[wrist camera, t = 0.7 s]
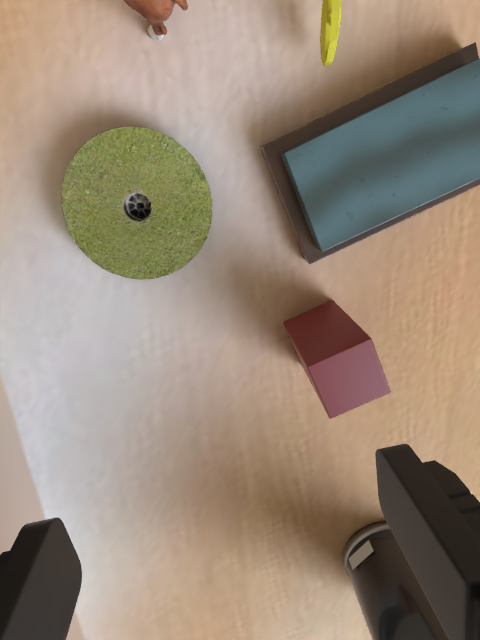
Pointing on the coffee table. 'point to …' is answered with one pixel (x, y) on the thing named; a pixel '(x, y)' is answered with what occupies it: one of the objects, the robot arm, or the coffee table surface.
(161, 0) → the bull figurine
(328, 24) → the decorative insect
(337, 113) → the blue-grey flat block
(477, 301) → the coffee table surface
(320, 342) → the pillar block
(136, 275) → the mat
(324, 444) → the coffee table surface
